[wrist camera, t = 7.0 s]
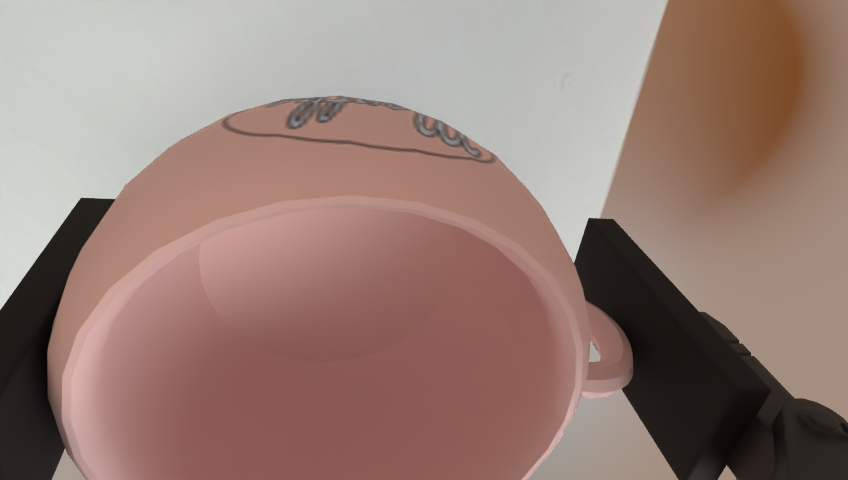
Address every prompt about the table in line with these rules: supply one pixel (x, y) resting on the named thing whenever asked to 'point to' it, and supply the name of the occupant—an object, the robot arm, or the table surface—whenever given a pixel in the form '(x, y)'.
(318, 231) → the mug
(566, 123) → the table surface
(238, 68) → the table surface
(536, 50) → the table surface
